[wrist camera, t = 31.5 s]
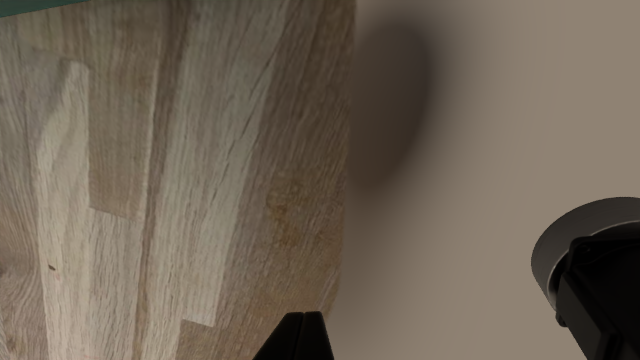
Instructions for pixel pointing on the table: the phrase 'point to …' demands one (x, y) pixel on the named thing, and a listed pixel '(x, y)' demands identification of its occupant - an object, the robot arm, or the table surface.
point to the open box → (30, 5)
